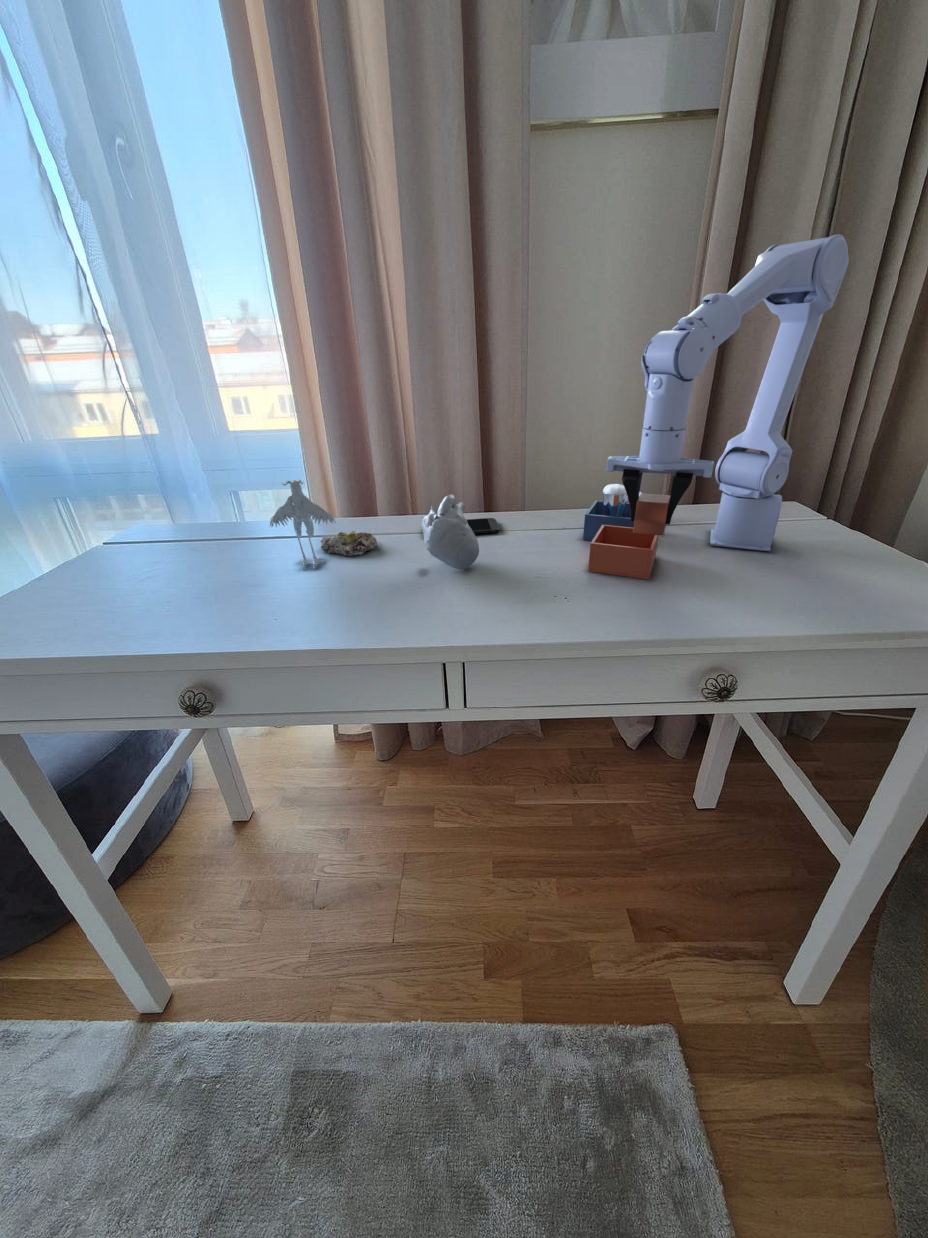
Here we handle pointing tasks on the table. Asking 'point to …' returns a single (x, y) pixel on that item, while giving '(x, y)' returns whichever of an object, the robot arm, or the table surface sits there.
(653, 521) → the block
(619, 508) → the milkshake
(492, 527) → the smartphone
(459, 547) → the heart
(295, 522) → the figurine
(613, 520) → the slate bin
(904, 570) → the table surface
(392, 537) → the table surface
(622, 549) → the terracotta bin
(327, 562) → the table surface
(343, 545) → the mineral rock
